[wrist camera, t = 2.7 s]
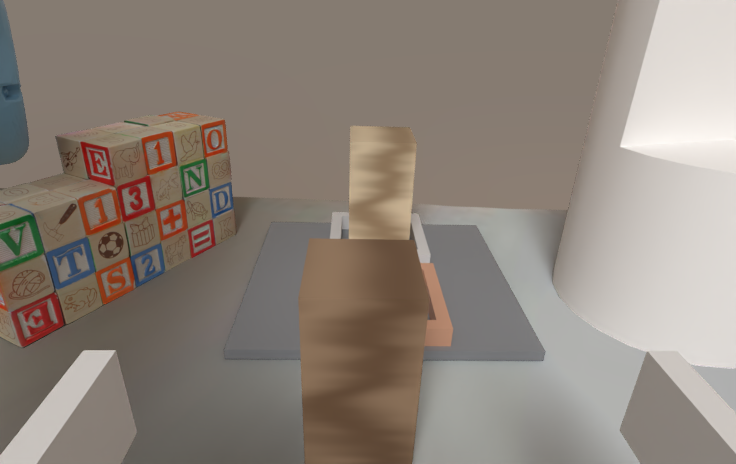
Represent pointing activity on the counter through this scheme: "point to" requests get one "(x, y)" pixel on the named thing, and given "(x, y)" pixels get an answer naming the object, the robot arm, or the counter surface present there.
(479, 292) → the board
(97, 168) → the stack of blocks
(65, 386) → the robot arm
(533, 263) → the counter surface
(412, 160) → the oak pillar
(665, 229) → the cylinder
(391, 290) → the walnut pillar
